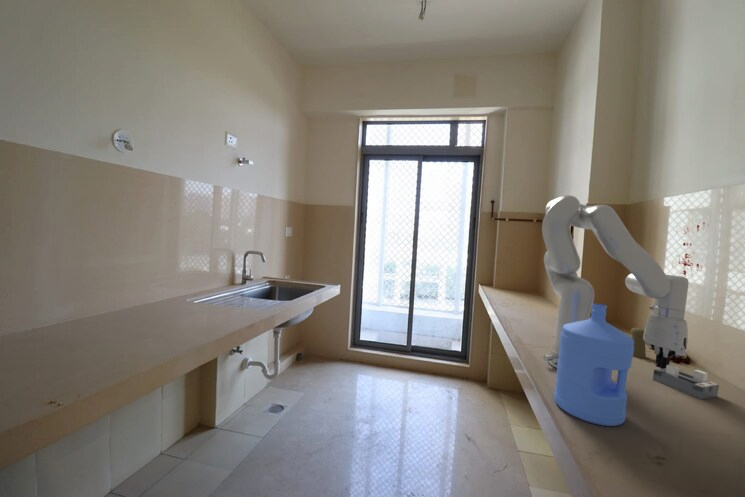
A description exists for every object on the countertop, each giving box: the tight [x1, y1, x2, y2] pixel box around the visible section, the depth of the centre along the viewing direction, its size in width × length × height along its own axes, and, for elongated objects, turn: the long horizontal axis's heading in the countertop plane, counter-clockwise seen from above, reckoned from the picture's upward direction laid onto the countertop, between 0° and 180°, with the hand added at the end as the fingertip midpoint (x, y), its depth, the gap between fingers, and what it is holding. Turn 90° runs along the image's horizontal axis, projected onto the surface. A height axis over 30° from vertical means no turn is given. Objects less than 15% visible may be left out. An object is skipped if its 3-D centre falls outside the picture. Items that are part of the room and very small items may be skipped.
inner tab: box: [666, 363, 680, 378], centre depth 103 cm, size 2×2×4 cm
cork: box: [630, 327, 647, 359], centre depth 129 cm, size 6×6×11 cm
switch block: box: [652, 368, 720, 400], centre depth 102 cm, size 8×12×4 cm, turn 19°
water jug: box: [553, 303, 634, 427], centre depth 84 cm, size 16×16×28 cm
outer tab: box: [692, 369, 709, 383], centre depth 100 cm, size 2×2×4 cm
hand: (661, 367), depth 106 cm, fingers closed
